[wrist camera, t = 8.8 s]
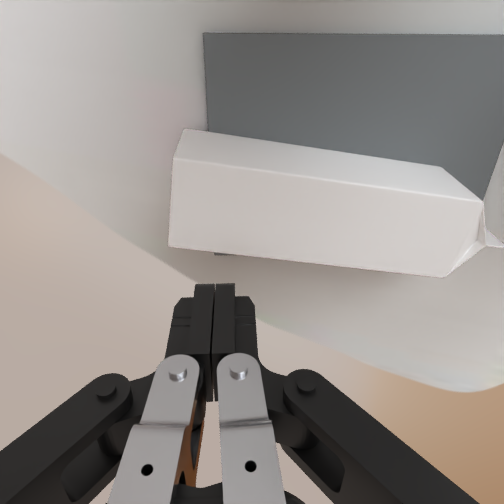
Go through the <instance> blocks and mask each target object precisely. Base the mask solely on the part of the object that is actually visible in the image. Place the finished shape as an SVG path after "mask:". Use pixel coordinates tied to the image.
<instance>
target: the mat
mask: <svg viewBox="0 0 504 504" xmlns="http://www.w3.org/2000/svg"><path fill="white" fill-rule="evenodd" d="M203 42H204V61H205V80H206V100H207V119H208V132H214V133H220V134H227V135H234V136H240V137H247V138H253V139H260V140H267V141H273V142H280V143H287V144H293V145H300V146H306V147H313V148H320V149H326V150H333V151H340V152H346V153H353V154H359V155H366V156H373V157H379V158H386V159H393V160H399V161H406V162H412V163H419V164H426V165H432V166H439V167H442V168H443V169H444V170H445V171H447V172H448V173H449V174H450V175H452V176H453V177H454V178H455V179H456V180H458V181H459V182H460V183H461V184H462V185H464V186H465V187H466V188H467V189H469V190H470V191H471V192H472V193H473V194H475V195H476V196H477V197H478V198H480V199H481V200H482V201H483V198H484V196H485V193H486V190H487V187H488V184H489V181H490V179H491V176H492V173H493V170H494V167H495V165H496V162H497V159H498V156H499V153H500V150H501V148H502V145H503V142H504V35H469V34H295V33H203ZM214 254H215V255H234V254H225V253H217V252H214Z"/></svg>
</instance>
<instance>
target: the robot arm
mask: <svg viewBox="0 0 504 504" xmlns="http://www.w3.org/2000/svg"><path fill="white" fill-rule="evenodd" d="M213 389H214V395H215V401H218V403H219V422H220V443H221V462H222V463H221V464H222V482H221V483H218V484H214V485H211V486H208V487H205V488H196V476H197V469H198V462H199V455H200V448H201V442H202V435H203V429H204V417H205V411H206V402H212V401H213ZM276 442H277V443H280V444H281V447H282V449H283V450H284V451H285V452H286V454H287V455H288V456H289V457H290V458H291V459H292V460H293V461H294V462H295V463H296V464H297V465H298V466H299V467H300V468H301V469H302V470H303V472H305V474H306V475H307V476H308V477H309V478H310V479H311V480H312V481H313V482H314V483H315V484H316V485H317V486H318V487H319V488H320V489H321V491H322V492H323V493H324V494H325V495H326V496H327V497H328V498H329V499H330V500H331V501H332V502H333V503H334V504H479V503H478V502H477V501H475V500H474V499H473V498H472V497H471V496H469V495H468V494H467V493H466V492H464V491H463V490H462V489H461V488H459V487H458V486H457V485H456V484H454V483H453V482H452V481H451V480H450V479H448V478H447V477H446V476H445V475H443V474H442V473H441V472H440V471H438V470H437V469H436V468H435V467H434V466H432V465H431V464H430V463H429V462H427V461H426V460H425V459H424V458H422V457H421V456H420V455H419V454H417V453H416V452H415V451H414V450H413V449H411V448H410V447H409V446H408V445H406V444H405V443H404V442H403V441H401V440H400V439H399V438H398V437H397V436H395V435H394V434H393V433H391V432H390V431H389V430H388V429H387V428H385V427H384V426H383V425H382V424H381V423H379V422H378V421H377V420H376V419H374V418H373V417H372V416H371V415H369V414H368V413H367V412H366V411H365V410H363V409H362V408H361V407H360V406H358V405H357V404H356V403H355V402H353V401H352V400H351V399H350V398H349V397H347V396H346V395H345V394H344V393H342V392H341V391H340V390H339V389H337V388H336V387H335V386H334V385H332V384H331V383H330V382H329V381H328V380H326V379H325V378H324V377H323V376H321V375H320V374H319V373H316V372H315V371H312V370H308V369H300V370H295V371H293V372H291V373H290V374H289V375H288V376H284V375H280V374H276V373H273V372H271V371H269V370H268V369H266V368H265V367H264V366H263V365H262V364H261V362H260V361H259V358H258V349H257V334H256V320H255V305H254V304H253V302H252V301H251V299H250V298H249V296H238V297H235V283H227V284H216V290H215V284H196V285H195V291H194V297H193V298H191V297H190V298H181V299H180V300H179V302H178V303H177V304H176V306H175V307H174V312H173V319H172V323H171V328H170V334H169V338H168V344H167V349H166V355H165V359H164V360H163V361H162V362H161V363H160V364H159V365H158V367H157V369H156V371H155V372H153V373H152V374H150V375H148V376H146V377H143V378H140V379H136V380H133V381H128V379H127V378H126V377H125V376H123V375H120V374H116V373H111V374H105V375H102V376H100V377H98V378H96V379H94V380H93V381H92V382H90V383H89V384H88V385H86V386H85V387H84V388H82V389H81V390H80V391H79V392H77V393H76V394H74V395H73V396H72V397H71V398H69V399H68V400H67V401H65V402H64V403H63V404H61V405H60V406H59V407H57V408H56V409H55V410H54V411H52V412H51V413H50V414H48V415H47V416H46V417H44V418H43V419H42V420H40V421H39V422H38V423H37V424H35V425H34V426H33V427H31V428H30V429H29V430H27V431H26V432H25V433H23V434H22V435H21V436H20V437H18V438H17V439H16V440H14V441H13V442H12V443H10V444H9V445H8V446H7V447H5V448H4V449H3V450H1V451H0V504H89V503H90V502H91V501H92V500H93V499H94V498H95V497H96V496H97V495H98V494H99V493H100V492H101V491H102V490H103V489H104V488H105V487H106V486H107V485H108V484H109V483H110V482H111V481H112V480H113V479H114V478H115V477H116V478H115V481H114V484H113V487H112V491H111V493H110V497H109V500H108V503H106V504H305V503H304V502H303V501H301V500H300V499H299V498H297V497H296V496H294V495H292V494H291V493H289V492H287V491H284V488H283V483H282V477H281V471H280V465H279V460H278V454H277V448H276Z"/></svg>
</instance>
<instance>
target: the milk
mask: <svg viewBox="0 0 504 504" xmlns="http://www.w3.org/2000/svg"><path fill="white" fill-rule="evenodd" d="M168 246H169V247H173V248H182V249H191V250H199V251H208V252H217V253H225V254H234V255H243V256H252V257H260V258H269V259H278V260H287V261H295V262H304V263H313V264H322V265H330V266H339V267H348V268H356V269H365V270H374V271H383V272H391V273H400V274H409V275H418V276H426V277H435V278H445V277H446V276H448V275H449V274H450V273H451V272H453V271H454V270H455V269H457V268H458V267H459V266H461V265H462V264H463V263H465V262H466V261H467V260H469V259H470V258H471V257H472V256H474V255H475V254H476V253H478V252H479V251H480V250H482V249H483V248H484V247H496V248H504V244H503V243H502V242H501V241H500V240H499V239H498V238H496V237H495V236H494V235H493V234H492V233H491V232H490V231H489V230H488V229H487V228H486V227H485V215H484V203H483V201H482V200H481V199H480V198H478V197H477V196H476V195H475V194H473V193H472V192H471V191H470V190H469V189H467V188H466V187H465V186H464V185H462V184H461V183H460V182H459V181H458V180H456V179H455V178H454V177H453V176H452V175H450V174H449V173H448V172H447V171H445V170H444V169H443V168H442V167H439V166H432V165H426V164H419V163H412V162H406V161H399V160H393V159H386V158H379V157H373V156H366V155H359V154H353V153H346V152H340V151H333V150H326V149H320V148H313V147H306V146H300V145H293V144H287V143H280V142H273V141H267V140H260V139H253V138H247V137H240V136H234V135H227V134H220V133H214V132H207V131H200V130H194V129H186V128H185V129H184V130H183V132H182V135H181V138H180V140H179V143H178V146H177V148H176V151H175V154H174V157H173V162H172V180H171V197H170V214H169V231H168Z"/></svg>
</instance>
